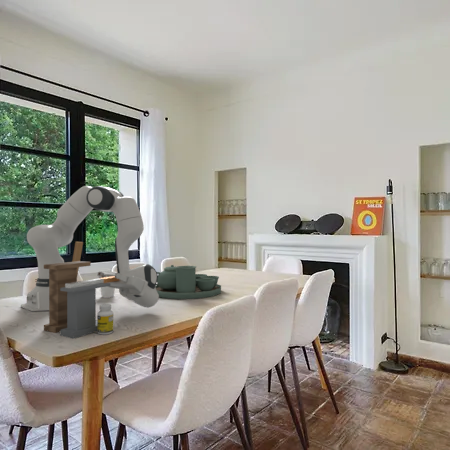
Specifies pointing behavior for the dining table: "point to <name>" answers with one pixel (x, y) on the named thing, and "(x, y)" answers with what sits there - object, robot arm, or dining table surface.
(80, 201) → the robot arm
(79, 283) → the wooden handled knife
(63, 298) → the tall stand
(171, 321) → the dining table surface
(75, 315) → the rack
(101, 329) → the supplement bottle
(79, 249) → the hammer
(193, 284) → the tea set
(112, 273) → the foam cup
